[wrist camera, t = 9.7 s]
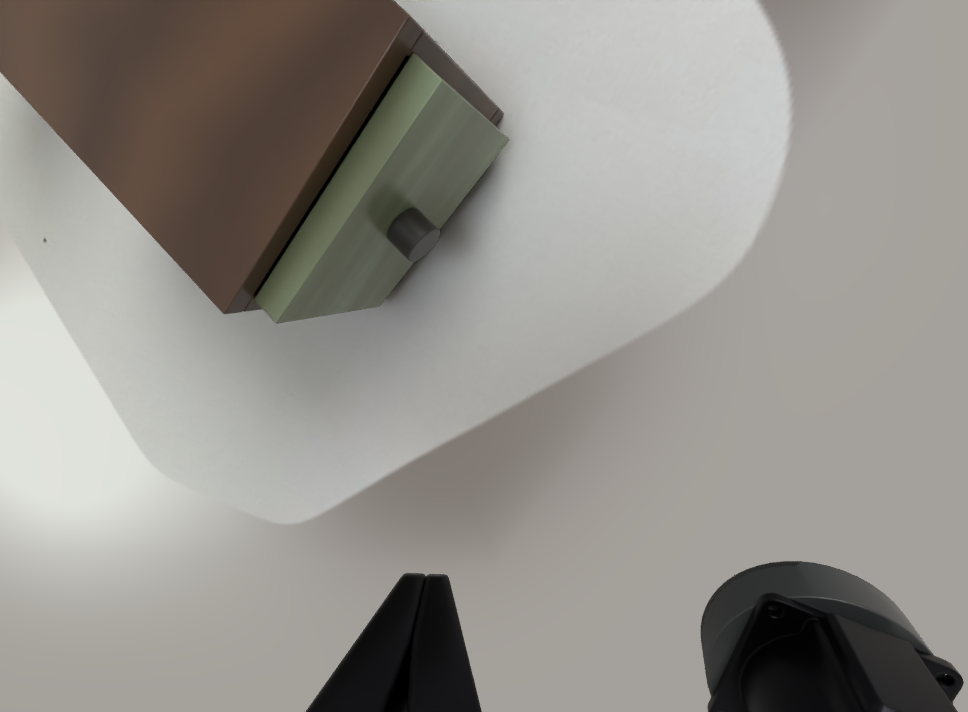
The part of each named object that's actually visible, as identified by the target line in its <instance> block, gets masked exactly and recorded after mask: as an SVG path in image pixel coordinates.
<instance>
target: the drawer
mask: <svg viewBox="0 0 968 712" xmlns="http://www.w3.org/2000/svg"><path fill="white" fill-rule="evenodd" d="M508 141H509V138H508V137H507V136H506V135H504V134H503V133H502V132H501V131H500V130H499V129H498V128H497V127H496V126H495V125H494V124H493V123H492V122H491V121H490V120H488V119H487V118H486V117H485V116H484V115H483V114H482V113H481V112H479V111H478V110H477V109H476V108H475V107H474V106H473V105H472V104H470V103H469V102H468V101H467V100H466V99H465V98H464V97H463V96H462V95H460V94H459V93H458V92H457V91H456V90H455V89H454V88H453V87H451V86H450V85H449V84H448V83H447V82H446V81H445V80H444V79H443V78H441V77H440V76H439V75H438V74H437V73H436V72H435V71H434V70H432V69H431V68H430V67H429V66H428V65H427V64H426V63H425V62H424V61H422V60H421V59H420V58H419V57H418V56H417V55H416V54H414V53H413V54H412V55H411V56H410V58H409V60H408V61H407V63H406V64H405V66H404V65H403V64H402V63H401V65H400V66H399V68H398V69H397V71H396V72H395V74H394V76H393V77H392V79H391V80H390V82H389V83H388V85H387V87H386V88H385V90H384V91H383V93H382V94H381V96H380V97H379V99H378V101H377V102H376V104H375V105H374V107H373V108H372V110H371V112H370V113H369V115H368V116H367V118H366V119H365V121H364V123H363V124H362V126H361V127H360V129H359V130H358V132H357V133H356V135H355V137H354V138H353V140H352V141H351V143H350V144H349V146H348V148H347V149H346V151H345V152H344V154H343V155H342V157H341V158H340V160H339V162H338V163H337V165H336V166H335V168H334V169H333V171H332V173H331V174H330V176H329V177H328V179H327V180H326V182H325V184H324V185H323V187H322V188H321V190H320V191H319V193H318V194H317V196H316V198H315V199H314V201H313V202H312V204H311V205H310V207H309V209H308V210H307V212H306V213H305V215H304V216H303V218H302V219H301V221H300V223H299V224H298V226H297V227H296V229H295V230H294V232H293V234H292V235H291V237H290V238H289V240H288V241H287V243H286V245H285V246H284V248H283V249H282V251H281V252H280V254H279V255H278V257H277V258H281V259H280V260H279V262H278V263H277V265H276V266H275V268H274V269H273V271H272V273H271V274H270V276H269V277H268V279H267V280H266V282H265V283H264V285H263V287H262V288H261V290H260V291H259V293H258V294H257V296H256V297H255V299H254V300H255V302H256V303H257V304H258V305H259V306H260V307H261V308H262V309H263V310H264V311H265V312H266V313H267V314H268V315H269V316H270V318H271V319H272V320H273V321H274V322H275V323H283V322H289V321H295V320H301V319H307V318H313V317H319V316H325V315H331V314H337V313H343V312H349V311H355V310H361V309H366V308H372V307H378V306H380V305H381V304H382V303H383V302H384V300H385V299H386V298H387V296H388V295H389V294H390V293H391V291H392V290H393V289H394V287H395V286H396V285H397V284H398V282H399V281H400V280H401V278H402V277H403V276H404V275H405V273H406V272H407V271H408V269H409V268H410V267H411V266H412V264H413V263H414V262H415V261H417V260H419V259H421V258H422V257H423V256H425V255H426V254H427V253H428V252H429V251H430V250H431V249H432V248H433V247H434V245H435V244H436V242H437V241H438V239H439V236H440V231H439V230H440V228H441V227H442V226H443V225H444V223H445V222H446V221H447V219H448V218H449V217H450V216H451V214H452V213H453V212H454V210H455V209H456V208H457V207H458V205H459V204H460V203H461V201H462V200H463V199H464V198H465V196H466V195H467V194H468V192H469V191H470V190H471V189H472V187H473V186H474V185H475V183H476V182H477V181H478V180H479V178H480V177H481V176H482V174H483V173H484V172H485V171H486V169H487V168H488V167H489V165H490V164H491V163H492V162H493V160H494V159H495V158H496V156H497V155H498V154H499V153H500V151H501V150H502V149H503V147H504V146H505V145H506V144H507V142H508Z"/></svg>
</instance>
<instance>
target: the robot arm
mask: <svg viewBox="0 0 968 712" xmlns="http://www.w3.org/2000/svg"><path fill="white" fill-rule="evenodd" d="M772 605H777V606H779V608H778V609H777V610H770V609H768V607H769V606H772ZM939 674H947V675H946V676H945V677H940V678H939V677H937V676H938V675H939ZM963 683H964V682H963V679H962V677H961V675H960V674H959V673H958V671H957V670H956V669H955V667H954V666H953V665H952V664H951V663H949V662H947V661H946V660H943V659H941V658H938V657H936V656H933V655H931V654H928V653H926V652H923V651H921V650H918V649H916V648H913V646H912V645H911V644H910V643H909V642H907V641H904V640H902V639H899V638H897V637H894V636H892V635H889V634H887V633H884V632H882V631H879V630H877V629H874V628H872V627H869V626H866V625H864V624H861V623H859V622H856V621H854V620H851V619H849V618H846V617H844V616H841V615H839V614H836V613H825V612H822V611H820V610H817V609H815V608H812V607H810V606H807V605H805V604H802V603H800V602H797V601H795V600H792V599H790V598H787V597H785V596H782V595H780V594H777V593H772V592H770V593H765V594H763V595H761V596H760V598H759V599H758V601H757V603H756V605H755V607H754V609H753V611H752V614H751V616H750V618H749V620H748V622H747V624H746V626H745V628H744V630H743V632H742V634H741V636H740V638H739V641H738V643H737V645H736V647H735V649H734V651H733V653H732V655H731V657H730V659H729V661H728V663H727V666H726V668H725V670H724V672H723V674H722V676H721V678H720V680H719V682H718V684H717V686H716V688H715V691H714V693H713V695H712V697H711V699H710V701H709V703H708V712H957V710H956V709H955V707H954V706H953V704H952V702H953V700H954V699H955V697H956V695H957V694H958V692H959V691H960V690H961V688H962V686H963ZM306 712H481V707H480V703H479V699H478V695H477V691H476V687H475V683H474V679H473V675H472V671H471V667H470V663H469V658H468V654H467V651H466V647H465V642H464V638H463V635H462V630H461V626H460V622H459V618H458V613H457V609H456V606H455V601H454V597H453V593H452V589H451V585H450V581H449V578H448V576H447V575H444V574H442V575H441V574H429V575H427V576H425V575H424V574H419V573H405V574H404V575H403V576H402V577H401V578H400V579H399V581H398V582H397V584H396V585H395V587H394V588H393V589H392V591H391V592H390V594H389V595H388V596H387V598H386V599H385V601H384V602H383V603H382V605H381V606H380V608H379V609H378V610H377V612H376V613H375V615H374V616H373V617H372V619H371V620H370V622H369V623H368V625H367V626H366V628H365V629H364V630H363V632H362V633H361V634H360V636H359V637H358V639H357V640H356V641H355V643H354V644H353V646H352V647H351V649H350V650H349V651H348V653H347V654H346V656H345V657H344V658H343V660H342V661H341V663H340V664H339V665H338V667H337V668H336V670H335V671H334V672H333V674H332V675H331V677H330V678H329V680H328V681H327V682H326V684H325V685H324V687H323V688H322V689H321V691H320V692H319V694H318V695H317V696H316V698H315V699H314V701H313V702H312V704H311V705H310V706H309V708H308V709H307V711H306Z"/></svg>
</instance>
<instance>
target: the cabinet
mask: <svg viewBox="0 0 968 712" xmlns="http://www.w3.org/2000/svg"><path fill="white" fill-rule="evenodd" d="M413 53H414V54H416V55H417V56H418V57H419V58H420V59H421V60H422V61H424V62H425V63H426V64H427V65H428V66H429V67H430V68H431V69H432V70H434V71H435V72H436V73H437V74H438V75H439V76H440V77H441V78H443V79H444V80H445V81H446V82H447V83H448V84H449V85H450V86H451V87H453V88H454V89H455V90H456V91H457V92H458V93H459V94H460V95H462V96H463V97H464V98H465V99H466V100H467V101H468V102H469V103H470V104H472V105H473V106H474V107H475V108H476V109H477V110H478V111H479V112H481V113H482V114H483V115H484V116H485V117H486V118H487V119H488V120H490V121H491V122H492V123H493V124H494V125H496V124H497V123H498V121H499V120H500V119H501V117H502V116H503V114H504V113H503V111H502V110H501V109H500V108H499V107H498V106H497V105H496V104H495V103H494V102H493V101H492V100H491V99H490V98H489V97H488V96H487V95H486V94H485V93H484V92H483V91H482V90H481V89H480V88H479V87H478V85H477V84H476V83H475V82H474V81H473V80H472V79H471V78H470V77H469V76H468V75H467V74H466V73H465V72H464V71H463V70H462V69H461V68H460V67H459V66H458V65H457V64H456V63H455V62H454V61H453V60H452V59H451V57H450V56H449V55H448V54H447V53H446V52H445V51H444V50H443V49H442V48H441V47H440V46H439V45H438V44H437V43H436V42H435V41H434V40H433V39H432V38H431V37H430V36H429V35H428V34H427V33H426V32H425V30H424V29H423V28H422V27H421V26H420V25H419V24H418V23H417V22H416V21H415V20H414V19H413V18H412V17H411V16H410V15H409V14H408V13H407V12H406V11H405V10H404V9H403V8H402V7H401V6H399V5H398V4H397V3H396V2H395V1H394V0H0V72H1V73H2V74H3V75H4V77H5V78H6V79H7V80H8V81H9V82H10V83H11V84H12V85H13V86H14V87H15V88H16V90H17V91H18V92H19V93H20V94H21V95H22V96H23V97H24V98H25V99H26V100H27V101H28V103H29V104H30V105H31V106H32V107H33V108H34V109H35V110H36V111H37V112H38V113H39V114H40V116H41V117H42V118H43V119H44V120H45V121H46V122H47V123H48V124H49V125H50V126H51V127H52V128H53V130H54V131H55V132H56V133H57V134H58V135H59V136H60V137H61V138H62V139H63V140H64V141H65V143H66V144H67V145H68V146H69V147H70V148H71V149H72V150H73V151H74V152H75V153H76V154H77V156H78V157H79V158H80V159H81V160H82V161H83V162H84V163H85V164H86V165H87V166H88V167H89V169H90V170H91V171H92V172H93V173H94V174H95V175H96V176H97V177H98V178H99V179H100V180H101V182H102V183H103V184H104V185H105V186H106V187H107V188H108V189H109V190H110V191H111V192H112V193H113V195H114V196H115V197H116V198H117V199H118V200H119V201H120V202H121V203H122V204H123V205H124V206H125V208H126V209H127V210H128V211H129V212H130V213H131V214H132V215H133V216H134V217H135V218H136V219H137V221H138V222H139V223H140V224H141V225H142V226H143V227H144V228H145V229H146V230H147V231H148V232H149V234H150V235H151V236H152V237H153V238H154V239H155V240H156V241H157V242H158V243H159V244H160V245H161V247H162V248H163V249H164V250H165V251H166V252H167V253H168V254H169V255H170V256H171V257H172V258H173V260H174V261H175V262H176V263H177V264H178V265H179V266H180V267H181V268H182V269H183V270H184V271H185V273H186V274H187V275H188V276H189V277H190V278H191V279H192V280H193V281H194V282H195V283H196V284H197V286H198V287H199V288H200V289H201V290H202V291H203V292H204V293H205V294H206V295H207V296H208V297H209V299H210V300H211V301H212V302H213V303H214V304H215V305H216V306H217V307H218V308H219V309H220V310H221V312H222V313H223V314H230V313H238V312H242V311H244V312H245V311H253V310H261V309H262V308H261V307H260V306H259V305H258V304H257V303H256V302H255V300H254V299H255V297H256V296H257V294H258V293H259V291H260V290H261V288H262V287H263V285H264V283H265V282H266V280H267V279H268V277H269V276H270V274H271V273H272V271H273V269H274V268H275V266H276V265H277V263H278V262H279V260H280V259H281V258H277V257H278V255H279V254H280V252H281V251H282V249H283V248H284V246H285V245H286V243H287V241H288V240H289V238H290V237H291V235H292V234H293V232H294V230H295V229H296V227H297V226H298V224H299V223H300V221H301V219H302V218H303V216H304V215H305V213H306V212H307V210H308V209H309V207H310V205H311V204H312V202H313V201H314V199H315V198H316V196H317V194H318V193H319V191H320V190H321V188H322V187H323V185H324V184H325V182H326V180H327V179H328V177H329V176H330V174H331V173H332V171H333V169H334V168H335V166H336V165H337V163H338V162H339V160H340V158H341V157H342V155H343V154H344V152H345V151H346V149H347V148H348V146H349V144H350V143H351V141H352V140H353V138H354V137H355V135H356V133H357V132H358V130H359V129H360V127H361V126H362V124H363V123H364V121H365V119H366V118H367V116H368V115H369V113H370V112H371V110H372V108H373V107H374V105H375V104H376V102H377V101H378V99H379V97H380V96H381V94H382V93H383V91H384V90H385V88H386V87H387V85H388V83H389V82H390V80H391V79H392V77H393V76H394V74H395V72H396V71H397V69H398V68H399V66H400V65H401V63H402V64H403V65H404V66H405V64H406V63H407V61H408V60H409V58H410V56H411V55H412V54H413Z"/></svg>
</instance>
